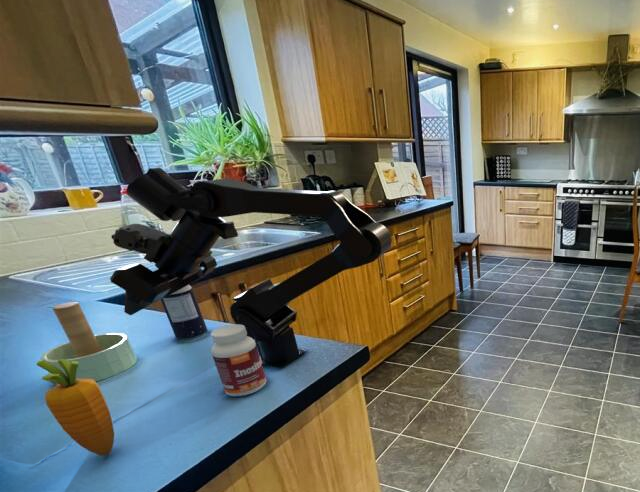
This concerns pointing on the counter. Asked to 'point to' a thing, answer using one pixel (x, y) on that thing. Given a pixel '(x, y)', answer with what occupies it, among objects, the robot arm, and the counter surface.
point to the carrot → (79, 407)
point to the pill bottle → (237, 360)
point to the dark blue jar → (184, 314)
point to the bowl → (96, 357)
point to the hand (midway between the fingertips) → (146, 303)
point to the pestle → (77, 328)
